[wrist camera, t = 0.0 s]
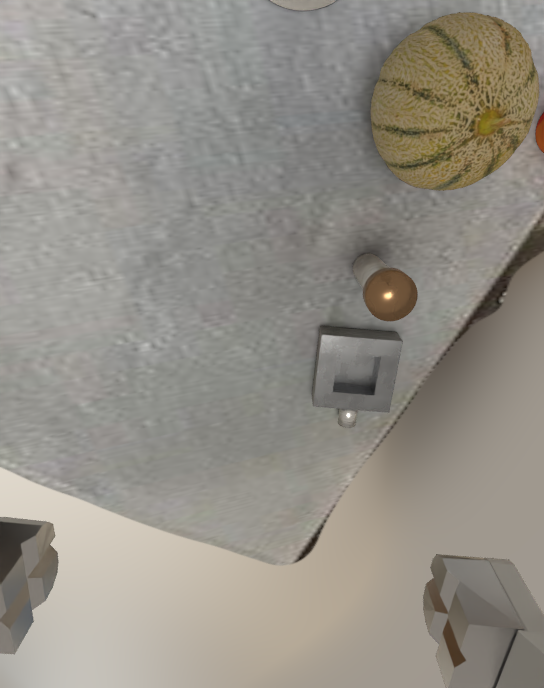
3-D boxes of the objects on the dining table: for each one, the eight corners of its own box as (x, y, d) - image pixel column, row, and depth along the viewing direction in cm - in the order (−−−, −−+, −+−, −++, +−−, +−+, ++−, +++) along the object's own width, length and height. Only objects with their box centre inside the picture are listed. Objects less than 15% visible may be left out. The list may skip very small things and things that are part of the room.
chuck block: (319, 325, 58) (321, 334, 55) (396, 331, 58) (402, 341, 55) (309, 412, 63) (310, 426, 59) (380, 418, 63) (385, 432, 59)
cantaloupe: (398, 14, 46) (446, -57, 32) (522, 74, 47) (620, 32, 33) (337, 158, 51) (355, 152, 37) (451, 208, 52) (510, 221, 38)
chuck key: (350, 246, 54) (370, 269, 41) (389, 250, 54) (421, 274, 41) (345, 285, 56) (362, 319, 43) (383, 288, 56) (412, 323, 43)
